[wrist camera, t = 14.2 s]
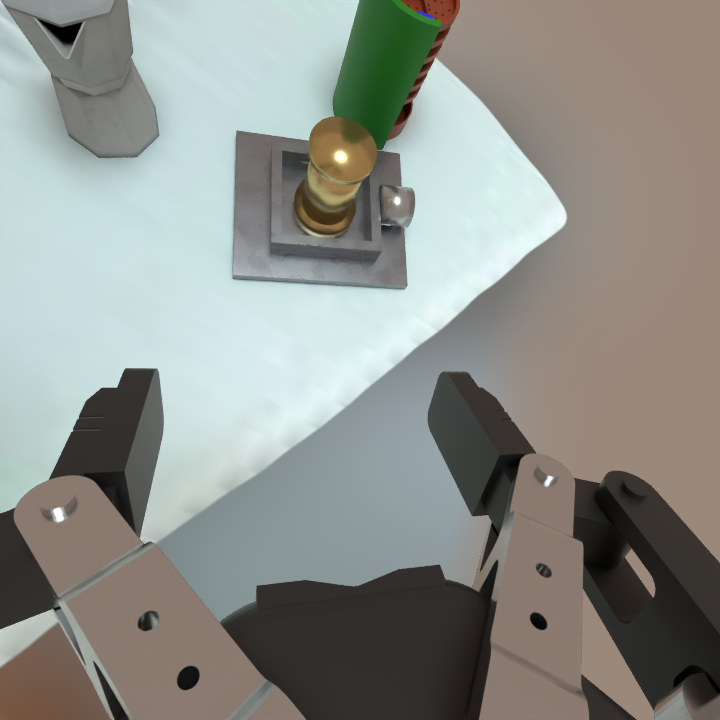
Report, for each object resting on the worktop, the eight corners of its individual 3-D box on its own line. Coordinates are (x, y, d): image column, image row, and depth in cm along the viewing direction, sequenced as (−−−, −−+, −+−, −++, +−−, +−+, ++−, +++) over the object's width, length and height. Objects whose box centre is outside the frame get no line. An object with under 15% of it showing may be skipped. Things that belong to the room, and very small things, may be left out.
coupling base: (233, 278, 44) (231, 257, 39) (236, 137, 47) (235, 101, 42) (404, 289, 48) (421, 271, 43) (396, 159, 51) (412, 129, 47)
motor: (407, 154, 52) (501, -19, 33) (333, 143, 50) (388, -48, 31) (403, 80, 54) (489, -122, 35) (331, 67, 52) (382, -157, 33)
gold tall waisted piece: (292, 236, 45) (305, 176, 35) (292, 180, 46) (305, 107, 37) (353, 241, 47) (381, 186, 37) (351, 187, 48) (378, 119, 38)
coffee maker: (169, 177, 44) (121, 3, 27) (69, 180, 42) (-52, -10, 25) (151, 49, 46) (96, -186, 29) (55, 44, 44) (-65, -214, 27)
